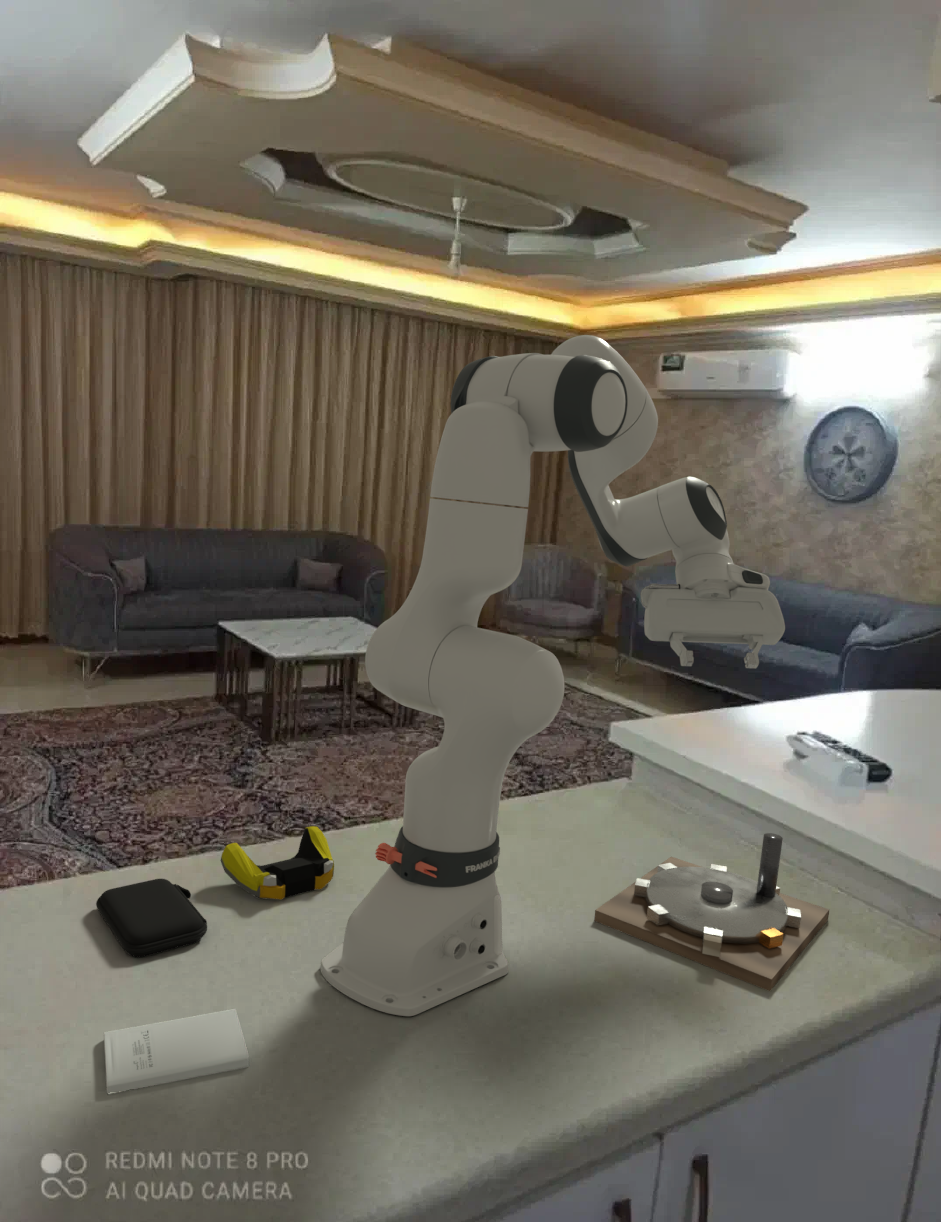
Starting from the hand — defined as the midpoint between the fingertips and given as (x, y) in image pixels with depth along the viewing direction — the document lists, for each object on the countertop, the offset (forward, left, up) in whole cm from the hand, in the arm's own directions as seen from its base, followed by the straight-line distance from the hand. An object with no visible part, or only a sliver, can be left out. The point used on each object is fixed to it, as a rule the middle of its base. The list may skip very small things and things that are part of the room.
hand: (720, 665), depth 131 cm
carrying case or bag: (-64, +42, -32) cm, 82 cm away
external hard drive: (-76, +20, -32) cm, 85 cm away
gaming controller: (-46, +39, -32) cm, 68 cm away
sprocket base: (-13, -8, -31) cm, 35 cm away
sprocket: (-13, -8, -29) cm, 33 cm away
